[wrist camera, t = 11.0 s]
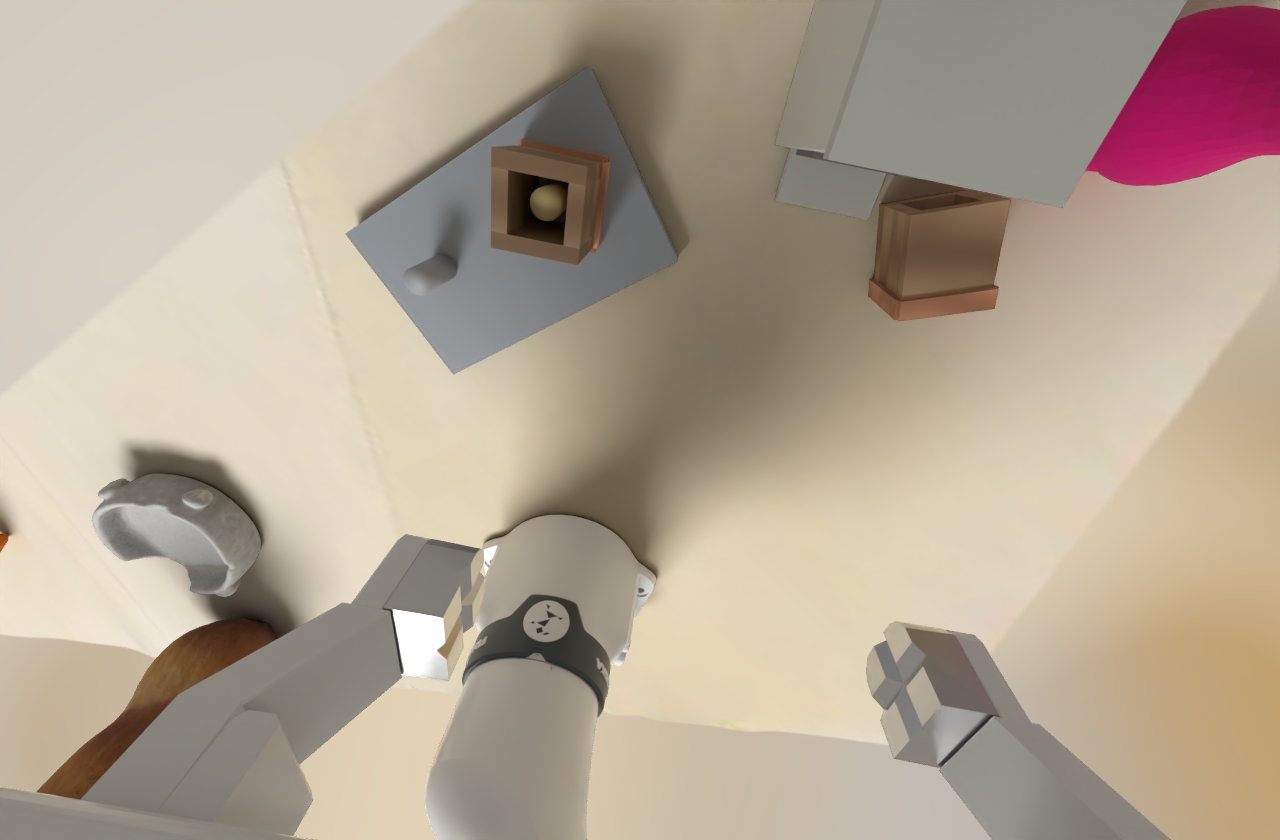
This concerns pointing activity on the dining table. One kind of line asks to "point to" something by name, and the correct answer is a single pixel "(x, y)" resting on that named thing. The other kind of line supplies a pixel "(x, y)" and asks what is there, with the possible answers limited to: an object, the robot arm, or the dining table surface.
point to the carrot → (3, 540)
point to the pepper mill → (1200, 101)
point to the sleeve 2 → (938, 254)
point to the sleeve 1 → (520, 178)
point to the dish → (179, 528)
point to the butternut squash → (159, 696)
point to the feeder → (960, 95)
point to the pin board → (502, 280)
